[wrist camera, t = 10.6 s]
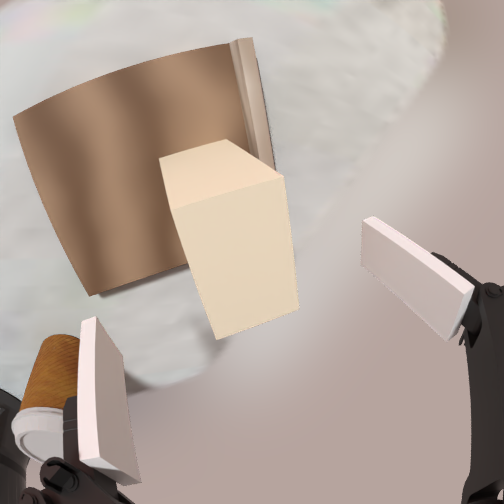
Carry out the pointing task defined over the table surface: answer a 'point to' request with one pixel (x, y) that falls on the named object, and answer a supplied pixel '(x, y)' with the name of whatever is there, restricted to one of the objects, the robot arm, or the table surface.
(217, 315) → the carton
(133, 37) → the table surface
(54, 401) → the disposable coffee cup
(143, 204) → the shelf board
